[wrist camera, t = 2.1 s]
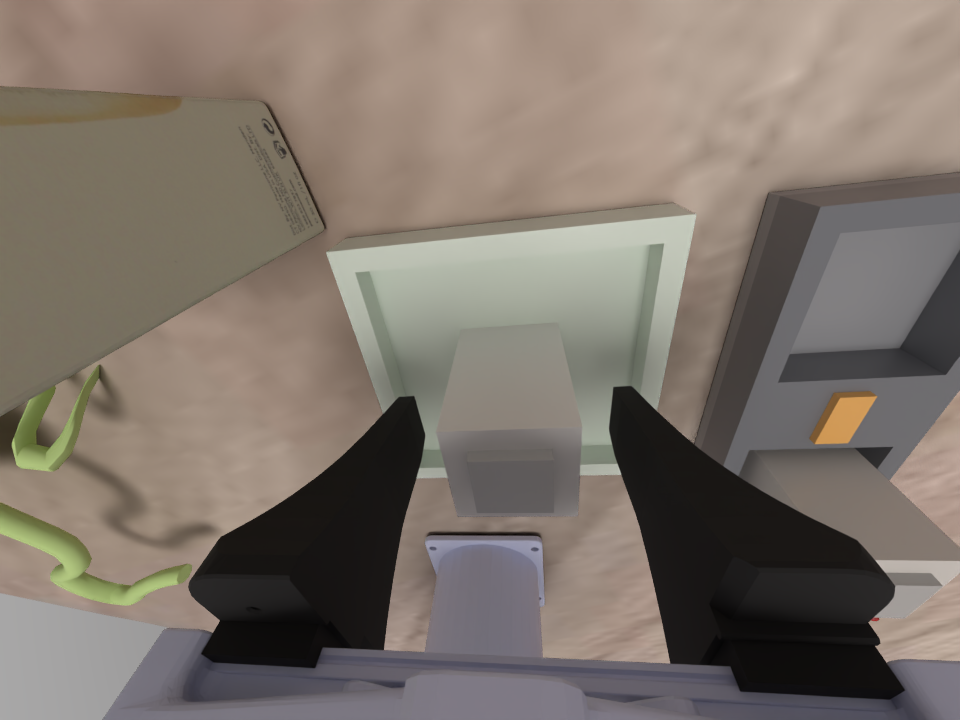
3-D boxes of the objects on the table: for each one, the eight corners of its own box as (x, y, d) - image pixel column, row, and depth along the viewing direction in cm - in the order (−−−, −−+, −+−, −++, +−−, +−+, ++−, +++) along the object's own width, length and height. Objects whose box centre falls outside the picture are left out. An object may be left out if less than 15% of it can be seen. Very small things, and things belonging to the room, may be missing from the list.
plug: (557, 398, 17) (579, 528, 11) (473, 402, 17) (455, 527, 12) (557, 322, 14) (585, 438, 9) (460, 329, 15) (433, 442, 10)
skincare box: (267, 95, 11) (-1605, -110, 1) (331, 231, 14) (-180, 539, 4) (115, 153, 13) (-1423, 273, 3) (196, 269, 15) (-461, 573, 5)
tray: (633, 446, 19) (644, 474, 17) (413, 452, 20) (405, 478, 19) (674, 202, 12) (696, 213, 11) (345, 238, 14) (325, 251, 12)
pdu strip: (814, 491, 20) (852, 539, 17) (679, 493, 21) (700, 538, 18) (1016, 166, 11) (1143, 177, 9) (768, 192, 12) (828, 209, 10)
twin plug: (801, 484, 19) (917, 628, 13) (719, 485, 19) (799, 624, 14) (833, 428, 16) (988, 574, 11) (739, 431, 17) (844, 572, 12)
